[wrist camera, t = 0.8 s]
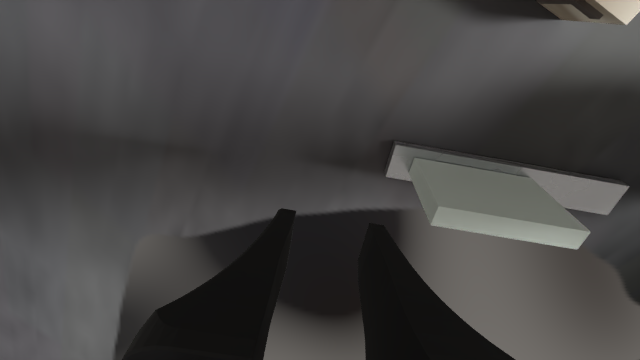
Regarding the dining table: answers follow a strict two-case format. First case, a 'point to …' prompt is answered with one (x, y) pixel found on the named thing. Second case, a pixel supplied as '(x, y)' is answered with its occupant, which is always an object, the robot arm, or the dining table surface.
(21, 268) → the dining table surface
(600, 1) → the letter block
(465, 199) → the grey flat block
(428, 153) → the rail
